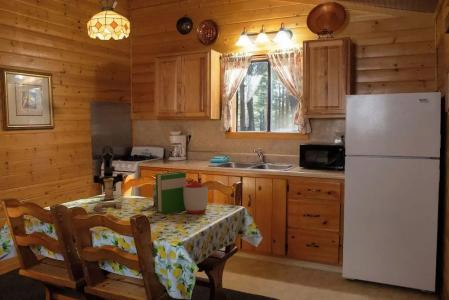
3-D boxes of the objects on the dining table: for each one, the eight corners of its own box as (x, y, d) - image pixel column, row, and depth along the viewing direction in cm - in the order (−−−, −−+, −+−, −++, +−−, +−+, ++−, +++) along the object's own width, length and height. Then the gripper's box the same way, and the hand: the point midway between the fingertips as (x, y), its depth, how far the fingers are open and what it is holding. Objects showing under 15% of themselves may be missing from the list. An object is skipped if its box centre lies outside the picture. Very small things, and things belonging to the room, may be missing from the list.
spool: (106, 197, 258) (106, 177, 257) (115, 197, 257) (115, 178, 256) (102, 199, 252) (101, 179, 251) (111, 199, 251) (110, 179, 250)
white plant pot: (215, 211, 242) (215, 179, 240) (193, 216, 230) (192, 183, 229) (200, 207, 253) (199, 177, 252) (178, 211, 242) (177, 180, 240)
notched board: (97, 205, 264) (97, 202, 264) (121, 203, 268) (121, 201, 268) (95, 210, 249) (95, 207, 249) (121, 208, 253) (121, 206, 253)
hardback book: (162, 214, 237) (161, 175, 235) (156, 212, 242) (155, 174, 241) (186, 209, 247) (185, 172, 246) (180, 207, 253) (179, 171, 251)
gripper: (93, 162, 253) (93, 182, 244) (122, 161, 259) (123, 180, 249) (93, 173, 262) (94, 192, 252) (122, 171, 267) (123, 190, 257)
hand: (108, 188), depth 253 cm, fingers closed on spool, 5 cm apart
